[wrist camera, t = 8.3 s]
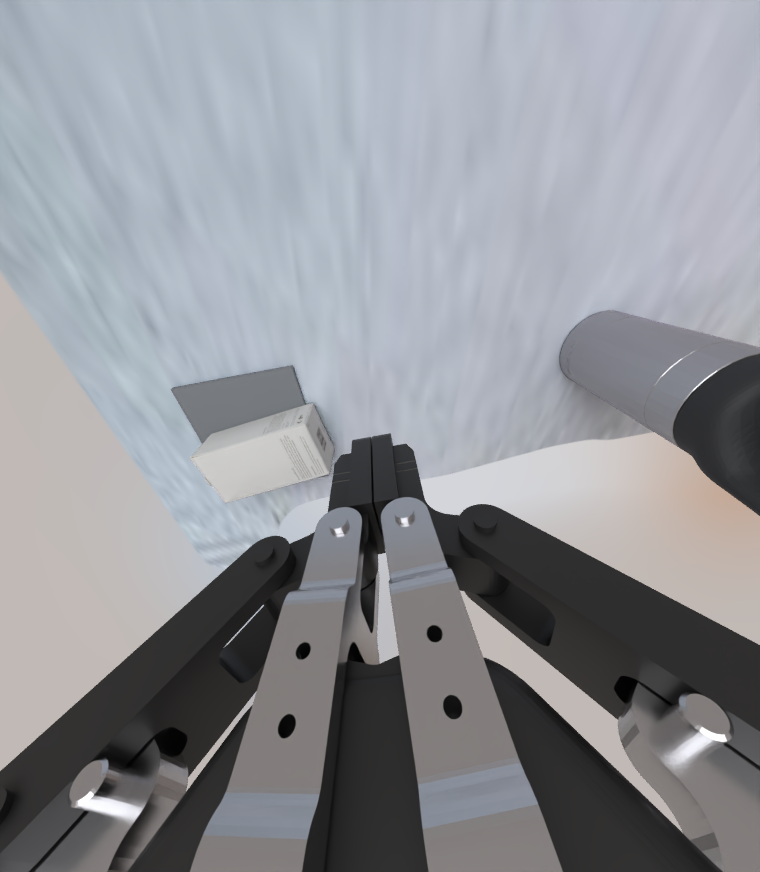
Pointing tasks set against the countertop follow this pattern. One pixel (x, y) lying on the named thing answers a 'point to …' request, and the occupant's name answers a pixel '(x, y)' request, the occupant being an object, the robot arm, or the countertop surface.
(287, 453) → the skincare box
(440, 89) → the countertop surface
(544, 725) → the robot arm
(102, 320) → the countertop surface
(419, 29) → the countertop surface
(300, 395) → the mat
